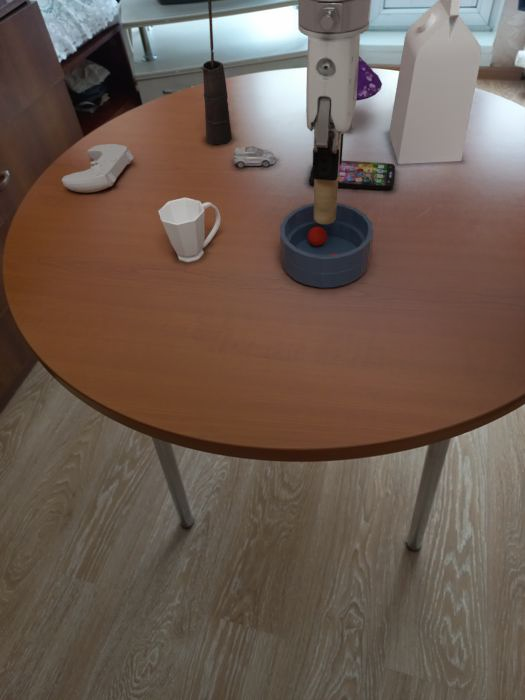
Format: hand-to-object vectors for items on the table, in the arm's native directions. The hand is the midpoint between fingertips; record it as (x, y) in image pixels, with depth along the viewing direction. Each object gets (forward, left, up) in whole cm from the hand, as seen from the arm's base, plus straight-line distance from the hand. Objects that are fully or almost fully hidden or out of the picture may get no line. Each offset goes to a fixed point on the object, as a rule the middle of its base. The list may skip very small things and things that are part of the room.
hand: (327, 169), depth 68 cm
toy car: (+2, -32, -16) cm, 35 cm away
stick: (0, 0, -8) cm, 8 cm away
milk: (-30, -25, -16) cm, 42 cm away
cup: (+18, -10, -16) cm, 26 cm away
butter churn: (+7, -43, -16) cm, 46 cm away
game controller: (+31, -38, -16) cm, 52 cm away
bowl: (0, 0, -15) cm, 15 cm away
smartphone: (-13, -20, -15) cm, 28 cm away
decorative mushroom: (-19, -37, -16) cm, 44 cm away
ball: (0, -3, -13) cm, 14 cm away
